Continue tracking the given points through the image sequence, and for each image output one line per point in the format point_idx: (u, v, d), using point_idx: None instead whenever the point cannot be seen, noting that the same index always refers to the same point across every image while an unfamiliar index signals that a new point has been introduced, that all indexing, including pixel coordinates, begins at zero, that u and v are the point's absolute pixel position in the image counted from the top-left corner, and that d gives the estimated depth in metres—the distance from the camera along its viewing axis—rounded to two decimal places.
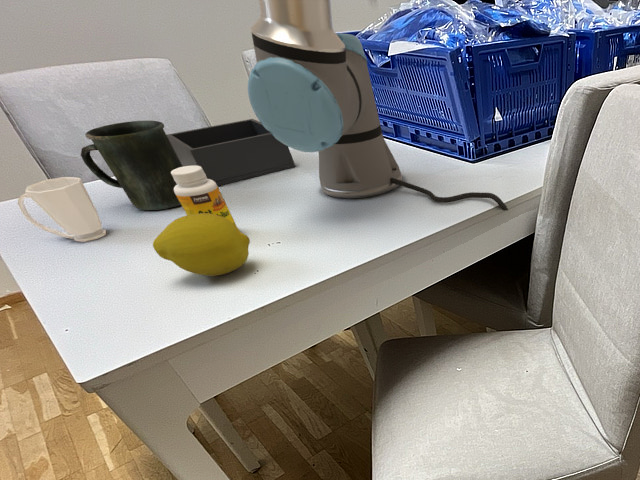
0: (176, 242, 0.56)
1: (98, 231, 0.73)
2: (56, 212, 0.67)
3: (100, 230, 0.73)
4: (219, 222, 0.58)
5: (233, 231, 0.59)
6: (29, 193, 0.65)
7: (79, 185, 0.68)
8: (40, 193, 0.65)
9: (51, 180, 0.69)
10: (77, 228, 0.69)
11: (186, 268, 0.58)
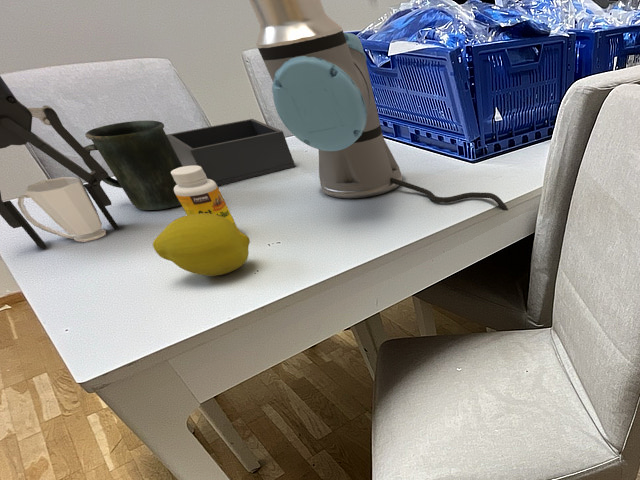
0: (176, 242, 0.56)
1: (98, 231, 0.73)
2: (56, 212, 0.67)
3: (100, 230, 0.73)
4: (219, 222, 0.58)
5: (233, 231, 0.59)
6: (29, 193, 0.65)
7: (79, 185, 0.68)
8: (40, 193, 0.65)
9: (51, 180, 0.69)
10: (77, 228, 0.69)
11: (186, 268, 0.58)
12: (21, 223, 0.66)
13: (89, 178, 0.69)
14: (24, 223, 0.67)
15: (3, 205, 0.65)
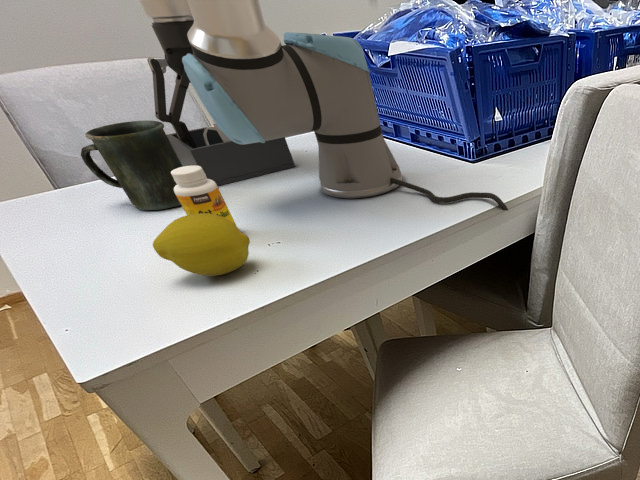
0: (176, 242, 0.56)
1: None
2: (231, 140, 0.91)
3: None
4: (219, 222, 0.58)
5: (233, 231, 0.59)
6: (215, 125, 0.89)
7: None
8: None
9: None
10: None
11: (186, 268, 0.58)
12: (189, 138, 0.87)
13: None
14: (191, 138, 0.88)
15: (179, 123, 0.86)
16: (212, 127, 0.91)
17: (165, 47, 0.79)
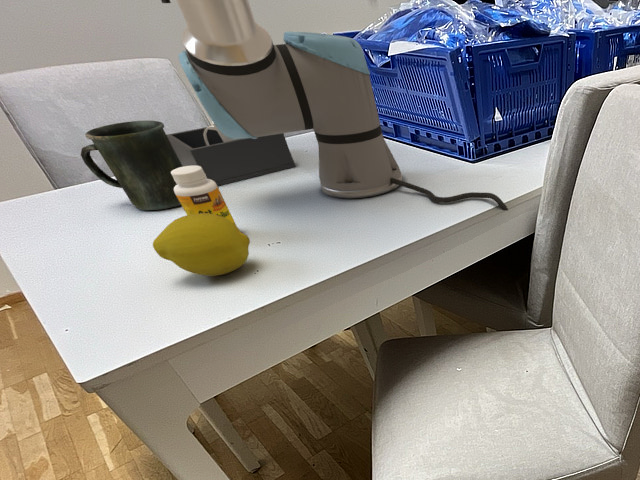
0: (176, 242, 0.56)
1: None
2: (231, 140, 0.91)
3: None
4: (219, 222, 0.58)
5: (233, 231, 0.59)
6: (215, 125, 0.89)
7: None
8: None
9: None
10: None
11: (186, 268, 0.58)
12: None
13: None
14: None
15: None
16: (212, 127, 0.91)
17: None
